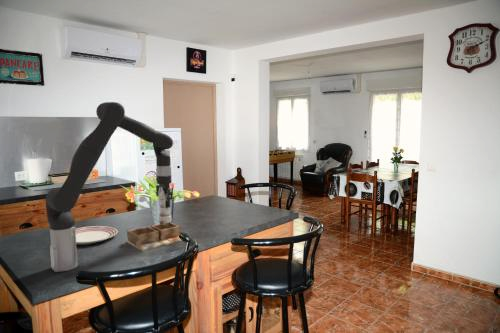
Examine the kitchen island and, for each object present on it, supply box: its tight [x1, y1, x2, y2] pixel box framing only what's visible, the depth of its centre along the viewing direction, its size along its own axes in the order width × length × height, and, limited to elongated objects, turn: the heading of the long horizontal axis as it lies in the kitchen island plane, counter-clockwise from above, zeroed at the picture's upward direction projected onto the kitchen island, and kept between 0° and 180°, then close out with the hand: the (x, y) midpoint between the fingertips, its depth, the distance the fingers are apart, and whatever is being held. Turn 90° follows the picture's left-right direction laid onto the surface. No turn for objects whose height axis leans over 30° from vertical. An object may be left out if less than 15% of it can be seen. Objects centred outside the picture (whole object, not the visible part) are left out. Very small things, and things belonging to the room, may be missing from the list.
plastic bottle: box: [157, 187, 173, 225], centre depth 184 cm, size 6×7×20 cm
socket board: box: [125, 222, 183, 252], centre depth 180 cm, size 24×18×6 cm
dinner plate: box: [75, 225, 119, 245], centre depth 185 cm, size 27×27×3 cm
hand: (164, 206), depth 184 cm, fingers closed on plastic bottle, 6 cm apart
